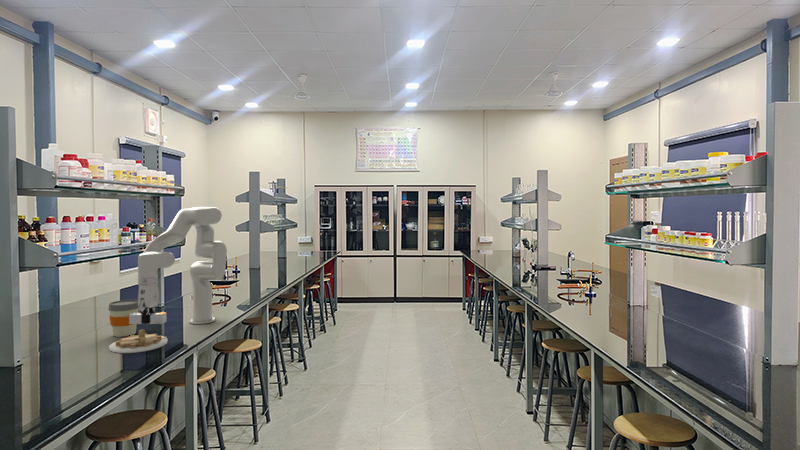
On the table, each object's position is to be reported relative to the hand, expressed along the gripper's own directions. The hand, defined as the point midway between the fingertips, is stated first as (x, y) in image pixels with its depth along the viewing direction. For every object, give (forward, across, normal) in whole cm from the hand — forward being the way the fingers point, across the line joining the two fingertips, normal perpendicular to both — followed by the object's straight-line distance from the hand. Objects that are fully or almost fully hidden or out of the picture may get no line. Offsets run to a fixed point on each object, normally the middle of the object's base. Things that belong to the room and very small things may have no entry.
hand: (148, 321), depth 200 cm
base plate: (+9, -4, +2) cm, 10 cm away
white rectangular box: (0, 0, 0) cm, 0 cm away
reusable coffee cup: (+9, +14, +17) cm, 24 cm away
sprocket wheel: (+8, -4, +2) cm, 9 cm away
